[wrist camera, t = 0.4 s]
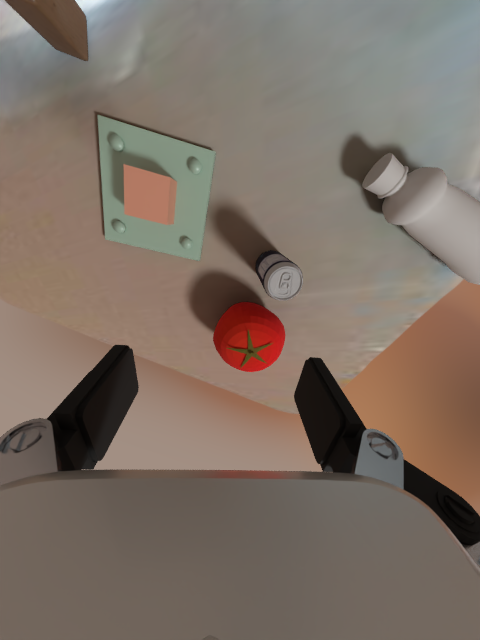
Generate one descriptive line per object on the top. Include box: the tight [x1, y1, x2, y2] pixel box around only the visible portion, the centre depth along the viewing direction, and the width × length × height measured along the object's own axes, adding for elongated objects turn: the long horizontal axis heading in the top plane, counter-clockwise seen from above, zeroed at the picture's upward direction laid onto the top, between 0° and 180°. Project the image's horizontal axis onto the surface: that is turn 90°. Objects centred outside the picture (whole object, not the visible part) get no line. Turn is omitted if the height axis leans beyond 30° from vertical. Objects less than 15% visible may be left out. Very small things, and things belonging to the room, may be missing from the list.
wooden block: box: [5, 0, 88, 61], centre depth 20 cm, size 4×4×8 cm
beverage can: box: [256, 250, 303, 300], centre depth 33 cm, size 6×6×12 cm
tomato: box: [213, 302, 285, 372], centre depth 38 cm, size 13×14×12 cm
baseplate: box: [97, 115, 216, 261], centre depth 31 cm, size 16×16×2 cm
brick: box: [123, 164, 177, 225], centre depth 30 cm, size 6×6×4 cm
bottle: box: [362, 153, 480, 285], centre depth 32 cm, size 9×9×30 cm
